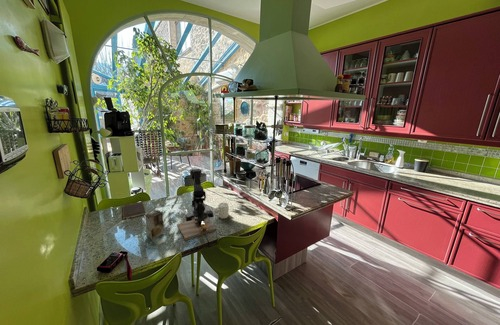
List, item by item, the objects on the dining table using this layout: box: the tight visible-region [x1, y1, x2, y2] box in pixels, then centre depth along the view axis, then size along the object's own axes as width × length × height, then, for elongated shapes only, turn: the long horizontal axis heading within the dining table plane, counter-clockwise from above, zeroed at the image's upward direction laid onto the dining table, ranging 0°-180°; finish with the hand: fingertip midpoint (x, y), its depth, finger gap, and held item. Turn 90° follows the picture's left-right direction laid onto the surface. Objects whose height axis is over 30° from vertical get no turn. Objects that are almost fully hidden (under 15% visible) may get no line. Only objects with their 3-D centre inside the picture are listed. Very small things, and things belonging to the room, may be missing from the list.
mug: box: [213, 202, 230, 219], centre depth 164 cm, size 12×8×10 cm
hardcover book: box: [121, 201, 146, 220], centre depth 171 cm, size 16×23×2 cm
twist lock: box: [193, 218, 206, 230], centre depth 148 cm, size 15×5×4 cm, turn 36°
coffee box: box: [144, 209, 165, 240], centre depth 138 cm, size 9×6×16 cm
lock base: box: [176, 218, 216, 241], centre depth 148 cm, size 20×22×2 cm
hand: (199, 226), depth 144 cm, fingers closed
